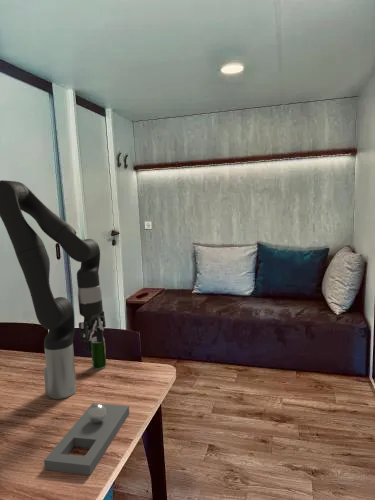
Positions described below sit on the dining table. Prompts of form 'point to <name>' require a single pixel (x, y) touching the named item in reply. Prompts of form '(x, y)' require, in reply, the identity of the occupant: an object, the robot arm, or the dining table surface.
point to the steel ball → (97, 413)
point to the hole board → (87, 441)
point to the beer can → (98, 354)
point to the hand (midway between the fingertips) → (94, 346)
